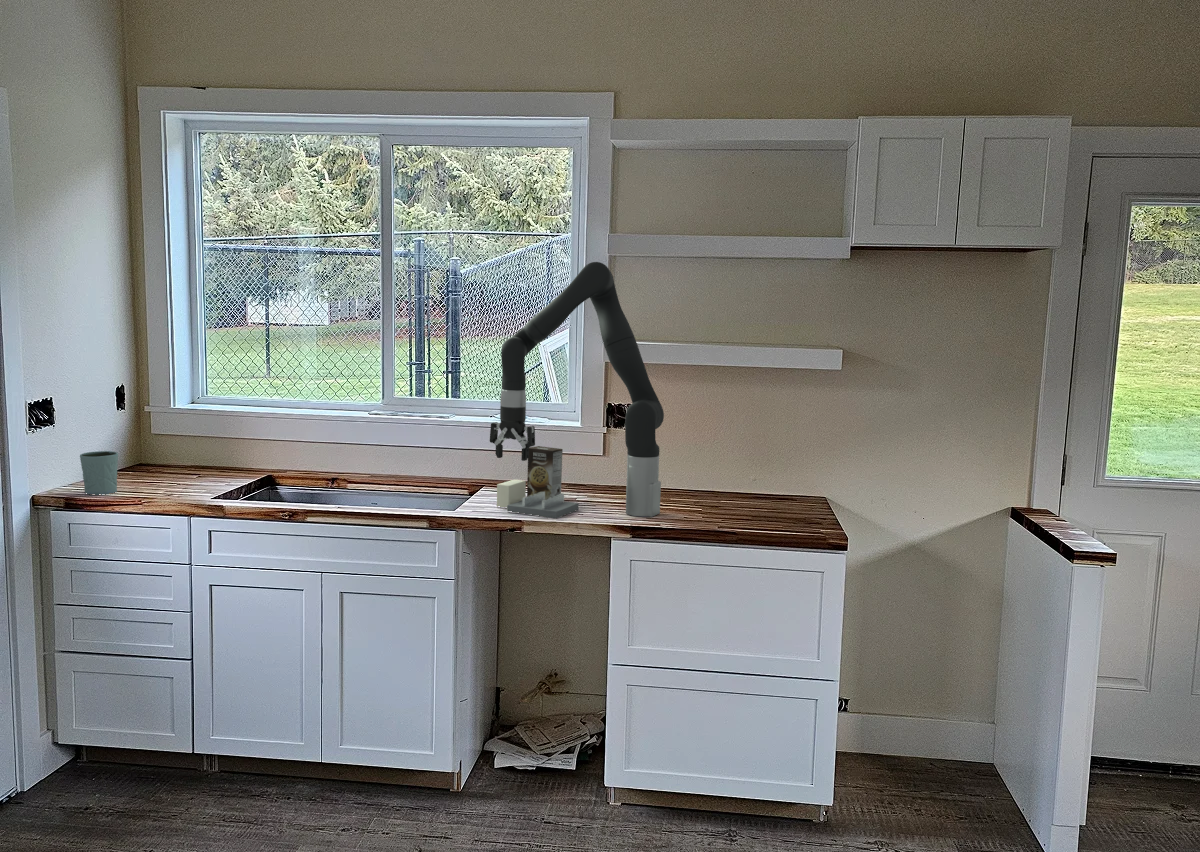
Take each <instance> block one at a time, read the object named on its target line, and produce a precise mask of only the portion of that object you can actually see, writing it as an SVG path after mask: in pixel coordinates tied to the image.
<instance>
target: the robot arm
mask: <svg viewBox="0 0 1200 852" xmlns="http://www.w3.org/2000/svg"><path fill="white" fill-rule="evenodd" d="M588 299H590V300H591V303H592V305H593V308H594V310H595V312H596V315H597V319H598V325H599V331H600V335H601V339H602V343H603V346H604V350H605V352H606V355H607V359H608V361H609V363H610V364H611V366H612V368H613V370H614V371H615V372H616V374H617V375H618V377H619V378H620V379H621V380H622V383H623V384H624V385H625V387H626V389H627V391H628V394H629V396H630V400H631V404H629V406H628V407H627V410H626V412H625V419H624V420H625V421H624V428H625V429H624V431H625V433H624V435H625V437H624V438H625V439H624V440H625V447H626V450H627V451H626V452H627V454H626V455H627V456H626V458H627V459H626V462H627V463H626V485H625V486H626V491H625V493H626V494H625V514H626V515H629V516H633V517H649V518H653V517H655V516H656V515H659V514H660V513H661V492H662V491H661V490H662V489H661V487H662V482H661V480H659V471H660V446H659V445H658V444H657V441H656V430H657V429H659V428H660V427H661V426H662V425H663V422H664V418H665V413H664V408H663V406H662V404H661V402H660V399H659V397H658V395H657V394H656V391H655V390H654V387H653V385H652V382H651V380H650V378H649V375H648V370H647V369H646V366H645V364H644V360H643V357H642V354H641V351H640V348H639V345H638V342H637V339H636V337H635V334H634V332H633V329H632V327H631V325H630V323H629V321H628V319H627V316H626V315H625V313H624V311H623V309H622V306H621V304H620V300H619V297H618V293H617V289H616V284H615V280H614V276H613V274H612V271H611V270H610V269H609V267H608V266H607V265H605V264H604V263H603V262H599V261H592V262H589V263H588V264H586V265H584V267H583V268H582V269H581V270H580V271H579V273H578V274H577V275H576V277H574V278H573V280H571V282H570V283H569V284H568V286H566V287H565V288H564V290H563V291H562V292H560V293H559V295H557V297H555V298H554V299H553V300H552V301H550V303H548V304H547V305H546V306H544V307H543V309H541V310H539V312H538V313H537V314H535V315H534V316H533V317H532V318H531V319H530V320H528V321H527V322H526V323H525V325H524V326H523V327H522V328H520V329H519V330H518V331H517V332H516V333H514V334H513V335H511V337H509V338H507V339H506V340H504V342H503V343H502V345H501V352H500V353H501V355H500V357H501V369H502V374H501V375H502V376H501V392H500V402H499V403H500V407H499V411H500V412H499V418H500V419H499V420H500V423H499V422H497V421H496V422H491V424H490V431H489V442H490V443H491V444H494V445H495V456H496V458H497V459H501V458H503V455H504V454H503V451H504V448H503V447H504V445H503V443H504V442H505V441H506V440H509V439H511V440H514V441H515V440H516V441H517V442H518V443H519V444H520V446H521V462H526V461H528V457H529V448H530V447H535V446H536V429H535V426H534V425H530V426H527V425H526V418H527V417H526V414H527V395H526V386H527V385H526V381H527V380H526V379H527V377H526V372H525V365H526V363H525V361H526V358H525V357H526V356H527V355H528V354H529V353H530V352H531V351H532V350H533V349H534V348H535V347H536V346H537V345H538V344H540V343H541V342H543V341H544V340H546V339H547V338H548V337H549V336H550V335H551V334H553V333H554V332H555V331H556V330H558V328H559V327H561V325H562V324H563V323H564V322H565V321H566V320H567V319H568V318H569V316H570V315H571V313H573V311H575V310H576V309H577V308H578V307H579V306H580V305H582V304H583V303H584V302H585V301H587V300H588ZM499 431H501V432H500V434H499ZM525 433H526V434H525ZM498 434H499V435H498ZM526 435H527V436H526Z"/></svg>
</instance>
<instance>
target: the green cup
mask: <svg viewBox="0 0 1200 852" xmlns="http://www.w3.org/2000/svg"><path fill="white" fill-rule="evenodd" d="M79 459H80V465H81V471H82V479H83V483H84V484H83V486H84V494H85V493H87V494H95V495H99V494H109V493H114V492H116V493H117V492H118V467H119V465H118V464H119V463H118V460H119V453H118V452H117V451H110V450H104V451H103V450H98V451H89V452H84V453H80V454H79ZM114 494H115V493H114Z"/></svg>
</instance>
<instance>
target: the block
mask: <svg viewBox="0 0 1200 852" xmlns="http://www.w3.org/2000/svg"><path fill="white" fill-rule="evenodd" d="M526 487H527V480H524V479H523V480H522V479H511V480H509V481H508V480H507V481H504V482H501V483H498V484H496V507H497V506H500V507H507V505H510V504H513V503H516V502H519V501H522V498H524V497H527V488H526Z"/></svg>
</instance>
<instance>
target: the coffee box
mask: <svg viewBox="0 0 1200 852" xmlns="http://www.w3.org/2000/svg"><path fill="white" fill-rule="evenodd" d="M562 469H563V448H557V447H549V446H541V445H537V446H531V447H529V457H528V459H527V475H526V477H527V480H526V487H527V488H526V497H527V496H530V495H533V494H536V493H539V492H542V491H545V499H547V498H550V497H553V496H556V495H559V494H562V472H563V471H562Z"/></svg>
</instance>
